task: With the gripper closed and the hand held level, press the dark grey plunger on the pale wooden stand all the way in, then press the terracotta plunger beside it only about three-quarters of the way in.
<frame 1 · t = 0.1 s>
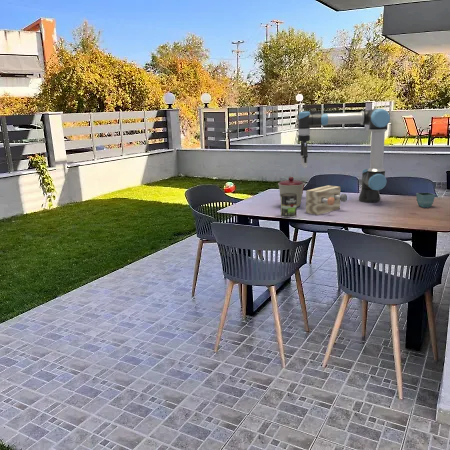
hand: (303, 166, 313), 28 cm above the table, tool pointing down, fingers open, 13 cm apart
flower pot: (424, 207, 304), on the table
grey plunger: (337, 196, 302), point 9 cm above the table, slide at 0.0 cm
terracotta plunger: (324, 200, 293), point 9 cm above the table, slide at 0.0 cm
plastic cup: (298, 198, 348), on the table
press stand: (323, 210, 304), on the table
coffee can: (288, 216, 293), on the table
canister: (291, 206, 320), on the table
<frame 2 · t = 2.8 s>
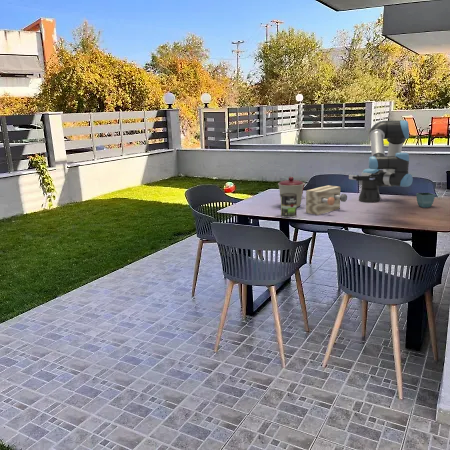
hand: (355, 175, 288), 24 cm above the table, tool horizontal, fingers open, 13 cm apart
nothing on the table moved.
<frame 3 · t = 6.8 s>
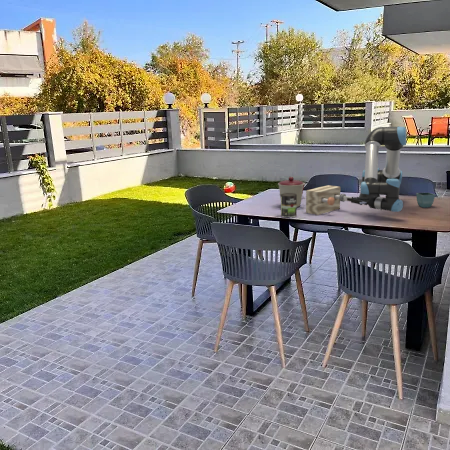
hand: (344, 198, 298), 9 cm above the table, tool horizontal, fingers closed
grey plunger: (336, 196, 302), point 9 cm above the table, slide at 0.6 cm, touching gripper
everything else where it was.
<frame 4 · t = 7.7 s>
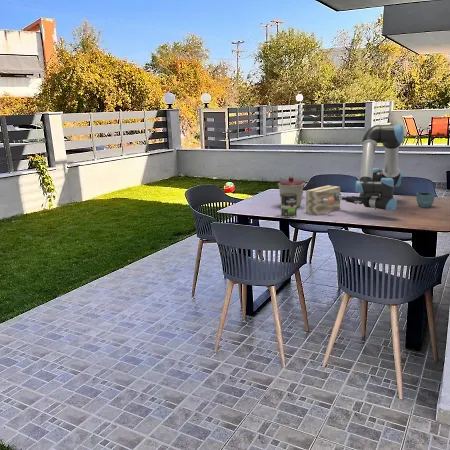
hand: (339, 197, 300), 9 cm above the table, tool horizontal, fingers closed
grey plunger: (331, 196, 305), point 9 cm above the table, slide at 4.4 cm, touching gripper
everything else where it was.
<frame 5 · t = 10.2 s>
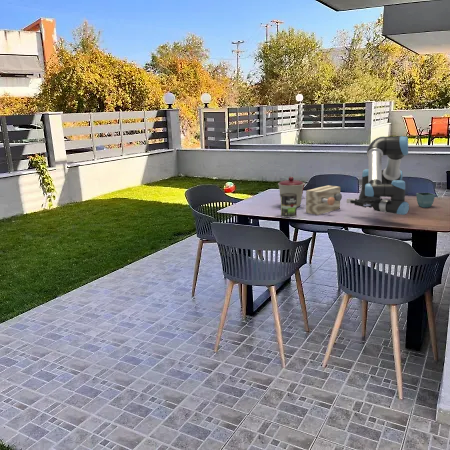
hand: (347, 200, 287), 10 cm above the table, tool horizontal, fingers closed
grey plunger: (332, 196, 305), point 9 cm above the table, slide at 4.1 cm
everything else where it was.
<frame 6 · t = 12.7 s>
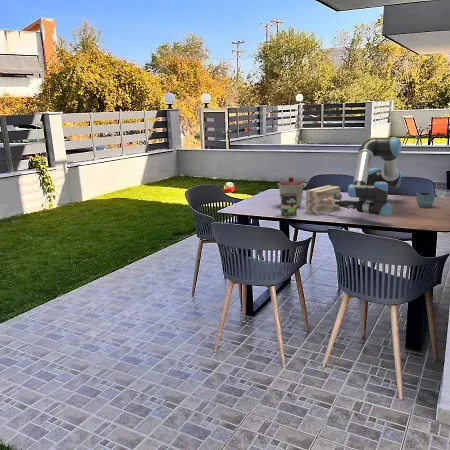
hand: (332, 201, 288), 9 cm above the table, tool horizontal, fingers closed
terracotta plunger: (324, 200, 293), point 9 cm above the table, slide at 0.4 cm, touching gripper
everything else where it was.
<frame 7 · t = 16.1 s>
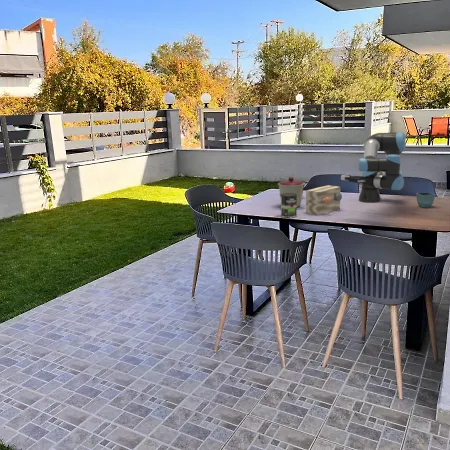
hand: (341, 177, 280), 25 cm above the table, tool horizontal, fingers closed
terracotta plunger: (321, 199, 295), point 9 cm above the table, slide at 2.6 cm
everything else where it was.
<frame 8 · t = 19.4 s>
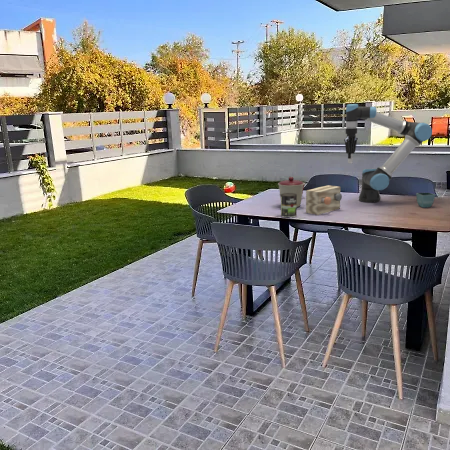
hand: (350, 163, 309), 29 cm above the table, tool pointing down, fingers closed
nothing on the table moved.
at the end: grey plunger slide at 4.1 cm; terracotta plunger slide at 2.6 cm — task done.
